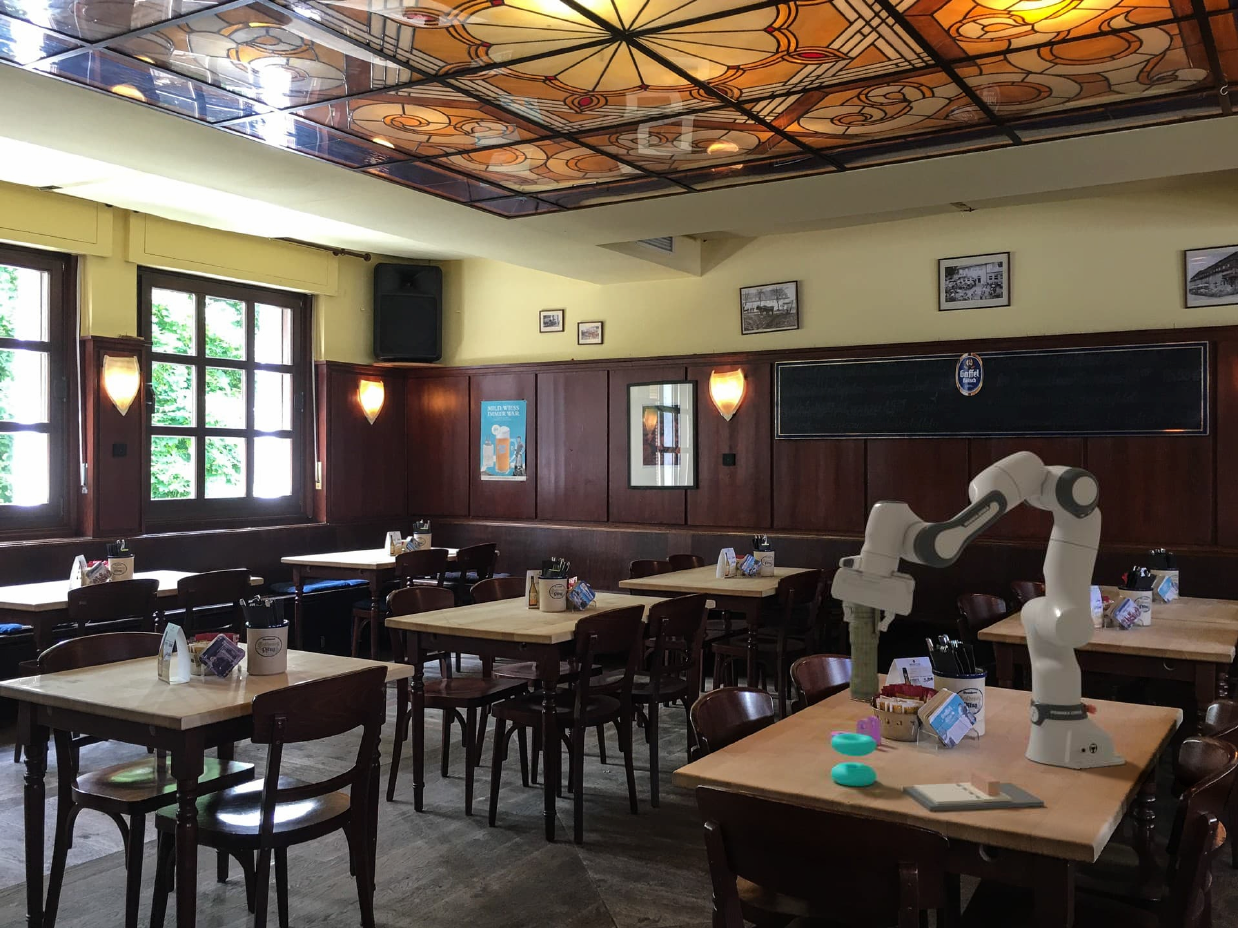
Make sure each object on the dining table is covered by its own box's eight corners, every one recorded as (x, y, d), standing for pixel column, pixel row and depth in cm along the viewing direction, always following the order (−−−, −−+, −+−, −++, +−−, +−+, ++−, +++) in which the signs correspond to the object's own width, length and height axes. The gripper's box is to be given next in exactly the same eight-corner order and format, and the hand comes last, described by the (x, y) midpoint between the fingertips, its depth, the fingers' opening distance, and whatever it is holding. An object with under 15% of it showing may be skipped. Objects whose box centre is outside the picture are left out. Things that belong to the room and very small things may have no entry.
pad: (1010, 787, 237) (1010, 779, 237) (1043, 806, 223) (1043, 797, 223) (903, 791, 233) (903, 783, 233) (929, 810, 219) (929, 802, 219)
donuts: (822, 737, 241) (845, 729, 248) (822, 781, 241) (845, 772, 248) (862, 744, 234) (884, 736, 242) (862, 790, 234) (884, 780, 242)
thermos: (856, 694, 339) (856, 584, 340) (888, 699, 331) (888, 586, 331) (839, 697, 333) (839, 585, 334) (871, 703, 325) (871, 588, 325)
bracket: (881, 744, 276) (881, 717, 276) (868, 747, 272) (868, 720, 272) (838, 735, 285) (838, 709, 285) (826, 738, 281) (826, 712, 281)
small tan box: (984, 784, 235) (984, 768, 235) (1011, 800, 223) (1011, 783, 223) (958, 785, 234) (958, 769, 234) (984, 801, 222) (984, 784, 222)
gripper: (923, 577, 242) (910, 637, 241) (849, 562, 257) (837, 618, 256) (908, 573, 238) (895, 634, 237) (834, 558, 253) (821, 615, 252)
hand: (864, 625), depth 247 cm, fingers open, 8 cm apart
